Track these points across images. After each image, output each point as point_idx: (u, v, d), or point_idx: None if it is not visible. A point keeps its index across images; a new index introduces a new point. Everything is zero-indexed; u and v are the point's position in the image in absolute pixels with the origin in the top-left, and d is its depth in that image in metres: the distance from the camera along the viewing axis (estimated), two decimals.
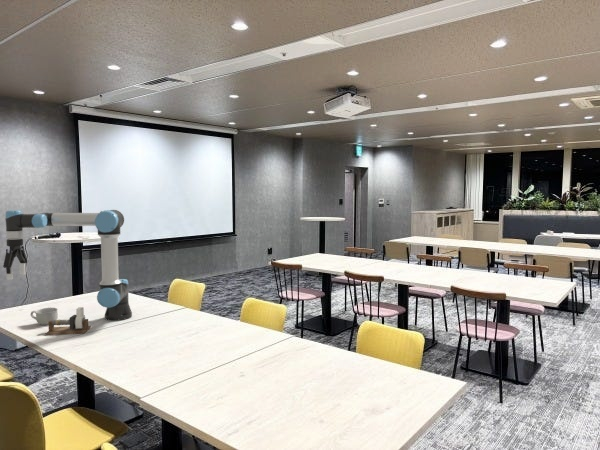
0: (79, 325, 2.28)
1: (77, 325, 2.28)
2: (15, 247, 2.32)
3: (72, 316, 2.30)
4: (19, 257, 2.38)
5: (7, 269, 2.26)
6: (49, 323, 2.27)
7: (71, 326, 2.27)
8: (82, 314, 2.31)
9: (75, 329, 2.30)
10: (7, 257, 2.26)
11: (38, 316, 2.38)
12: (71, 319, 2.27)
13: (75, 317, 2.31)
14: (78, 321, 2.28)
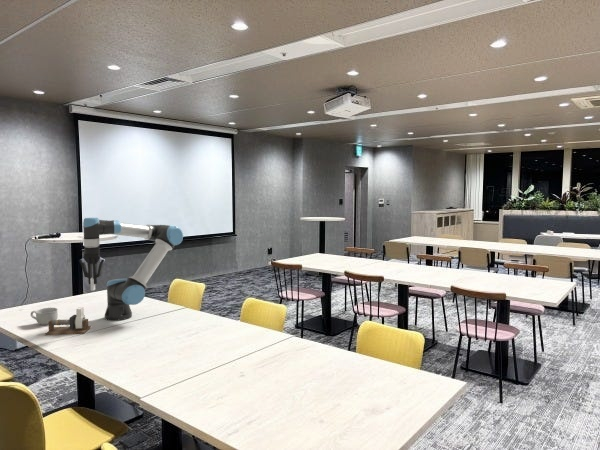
0: (79, 325, 2.28)
1: (77, 325, 2.28)
2: (85, 254, 2.28)
3: (72, 316, 2.30)
4: None
5: None
6: (49, 323, 2.27)
7: (71, 326, 2.27)
8: (82, 314, 2.31)
9: (75, 329, 2.30)
10: None
11: (38, 316, 2.38)
12: (71, 319, 2.27)
13: (75, 317, 2.31)
14: (78, 321, 2.28)
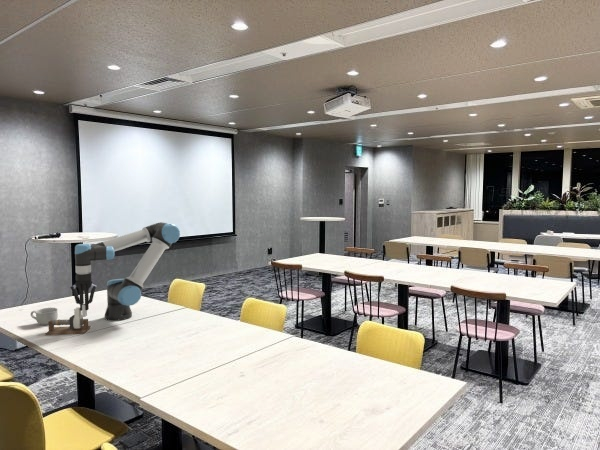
0: (77, 325, 2.28)
1: (75, 325, 2.28)
2: (77, 281, 2.28)
3: (72, 316, 2.30)
4: None
5: None
6: (49, 323, 2.27)
7: (71, 326, 2.27)
8: (80, 314, 2.30)
9: (75, 329, 2.30)
10: None
11: (38, 316, 2.38)
12: (71, 319, 2.27)
13: None
14: (76, 321, 2.28)
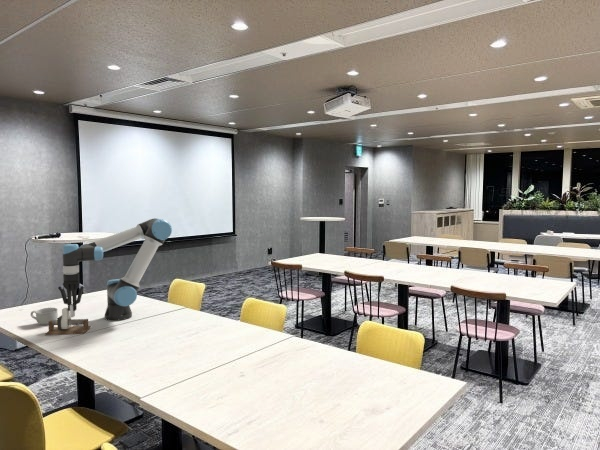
0: (65, 325, 2.27)
1: (63, 325, 2.27)
2: (64, 281, 2.27)
3: (60, 316, 2.29)
4: None
5: None
6: (49, 323, 2.27)
7: (59, 326, 2.27)
8: (68, 314, 2.30)
9: (75, 329, 2.30)
10: None
11: (38, 316, 2.38)
12: (59, 319, 2.26)
13: None
14: (64, 321, 2.27)
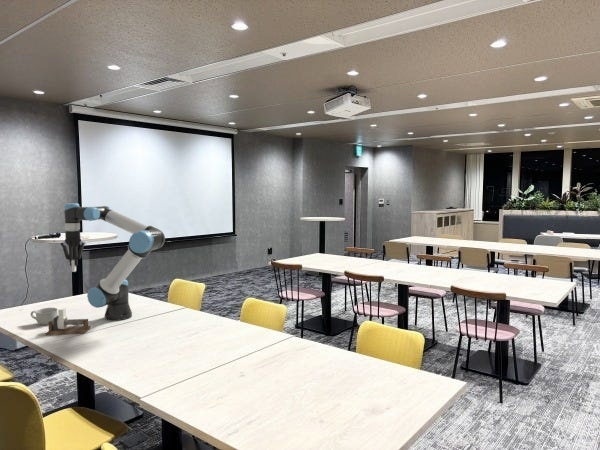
0: (61, 326, 2.27)
1: (59, 326, 2.27)
2: None
3: None
4: None
5: None
6: (49, 323, 2.27)
7: (55, 327, 2.26)
8: (64, 315, 2.29)
9: (75, 329, 2.30)
10: None
11: (38, 316, 2.38)
12: (55, 320, 2.26)
13: None
14: (60, 322, 2.27)
